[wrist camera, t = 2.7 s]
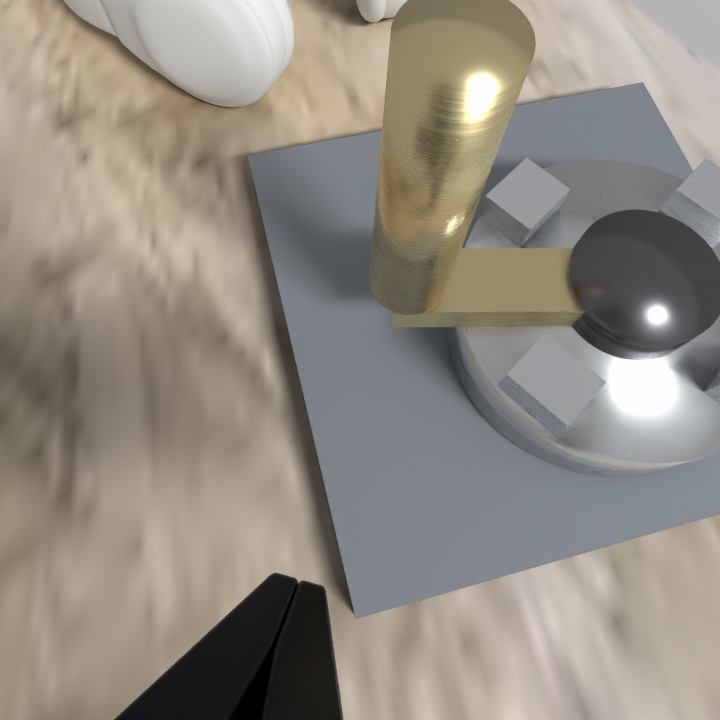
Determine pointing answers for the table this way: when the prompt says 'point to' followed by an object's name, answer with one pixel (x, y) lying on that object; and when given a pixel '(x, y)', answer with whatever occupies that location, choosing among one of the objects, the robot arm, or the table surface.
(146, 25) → the headphones
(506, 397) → the brass lever assembly
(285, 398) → the table surface
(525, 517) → the housing plate
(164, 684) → the robot arm
